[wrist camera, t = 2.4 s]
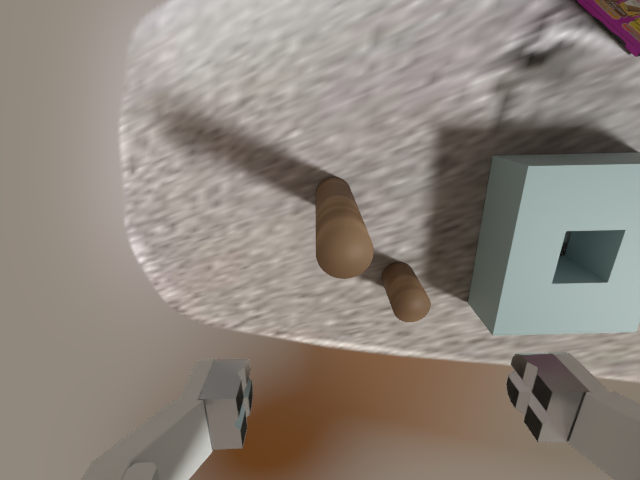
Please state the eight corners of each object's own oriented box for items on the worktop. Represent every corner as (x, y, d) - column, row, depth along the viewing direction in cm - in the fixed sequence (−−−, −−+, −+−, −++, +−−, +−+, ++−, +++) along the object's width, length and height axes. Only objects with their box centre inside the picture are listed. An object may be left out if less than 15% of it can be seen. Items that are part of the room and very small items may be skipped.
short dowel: (382, 262, 31) (394, 290, 27) (415, 261, 31) (432, 289, 27) (380, 291, 33) (391, 322, 28) (412, 290, 33) (428, 321, 28)
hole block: (492, 155, 28) (528, 166, 23) (639, 152, 28) (703, 162, 23) (467, 302, 33) (492, 335, 28) (590, 299, 33) (635, 331, 29)
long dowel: (315, 177, 28) (315, 226, 17) (351, 176, 28) (374, 225, 17) (315, 212, 29) (316, 279, 18) (350, 211, 29) (372, 277, 18)
